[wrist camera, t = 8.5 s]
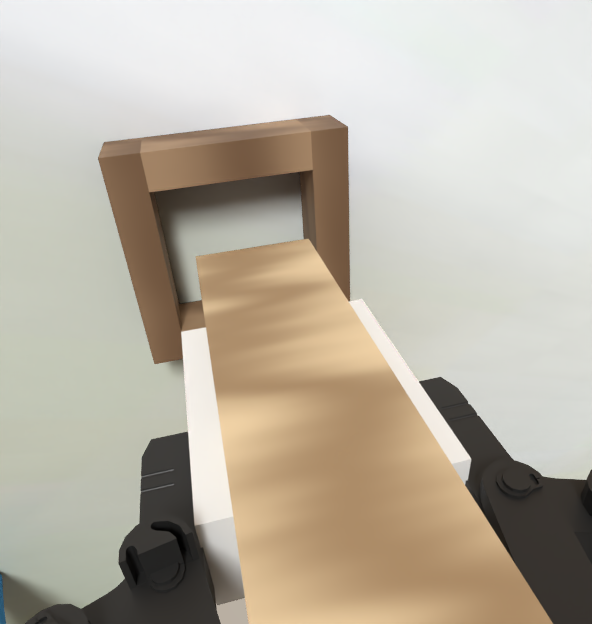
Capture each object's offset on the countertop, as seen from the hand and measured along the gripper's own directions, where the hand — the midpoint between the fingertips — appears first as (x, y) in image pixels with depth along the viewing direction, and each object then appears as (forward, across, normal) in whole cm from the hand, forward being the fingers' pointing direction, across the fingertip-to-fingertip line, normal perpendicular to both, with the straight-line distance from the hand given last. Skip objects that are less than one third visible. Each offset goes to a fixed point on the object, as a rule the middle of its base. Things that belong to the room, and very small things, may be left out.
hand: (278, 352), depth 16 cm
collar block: (+10, 0, 0) cm, 10 cm away
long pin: (+4, 0, 0) cm, 4 cm away
